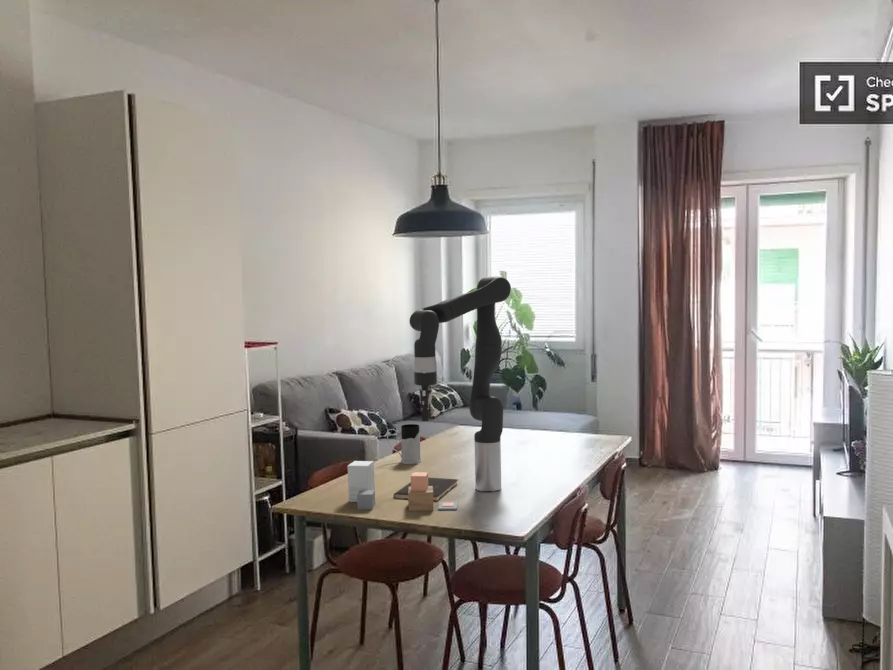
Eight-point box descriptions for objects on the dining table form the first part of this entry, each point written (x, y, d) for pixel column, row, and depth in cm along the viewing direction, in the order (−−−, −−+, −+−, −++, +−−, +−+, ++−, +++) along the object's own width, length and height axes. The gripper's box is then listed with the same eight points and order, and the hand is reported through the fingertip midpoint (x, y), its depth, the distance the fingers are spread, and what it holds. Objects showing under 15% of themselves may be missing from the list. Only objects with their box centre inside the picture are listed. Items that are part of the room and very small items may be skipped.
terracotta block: (413, 487, 251) (413, 472, 251) (428, 487, 251) (428, 472, 251) (411, 491, 246) (410, 476, 246) (426, 491, 246) (425, 476, 246)
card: (439, 503, 252) (439, 500, 252) (457, 503, 252) (457, 500, 252) (438, 510, 245) (438, 507, 244) (456, 510, 244) (456, 507, 244)
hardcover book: (458, 485, 277) (458, 479, 277) (437, 502, 255) (437, 496, 255) (417, 482, 282) (417, 476, 282) (393, 499, 260) (393, 492, 260)
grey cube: (360, 505, 253) (359, 490, 252) (375, 505, 252) (374, 490, 252) (357, 509, 248) (357, 494, 247) (372, 509, 247) (372, 494, 247)
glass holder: (420, 463, 311) (420, 427, 310) (386, 464, 311) (385, 428, 310) (422, 459, 319) (421, 423, 318) (388, 459, 320) (387, 424, 319)
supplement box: (375, 497, 262) (374, 460, 261) (368, 503, 255) (367, 465, 254) (355, 496, 264) (354, 460, 263) (348, 502, 256) (346, 465, 256)
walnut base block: (409, 504, 253) (408, 486, 252) (433, 503, 253) (432, 485, 253) (408, 511, 245) (408, 493, 244) (433, 510, 245) (433, 492, 245)
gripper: (416, 368, 259) (417, 415, 260) (411, 372, 245) (413, 422, 246) (438, 367, 259) (439, 415, 260) (435, 372, 245) (436, 422, 246)
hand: (426, 418), depth 253 cm, fingers open, 8 cm apart
